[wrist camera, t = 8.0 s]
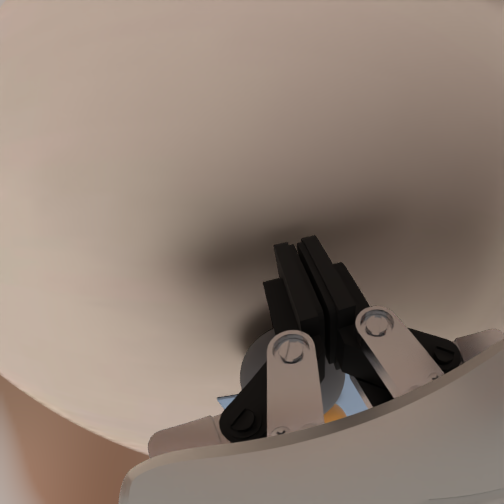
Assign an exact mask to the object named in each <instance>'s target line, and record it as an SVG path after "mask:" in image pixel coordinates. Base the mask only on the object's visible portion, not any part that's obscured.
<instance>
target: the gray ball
mask: <svg viewBox="0 0 504 504" xmlns="http://www.w3.org/2000/svg"><path fill="white" fill-rule="evenodd" d="M274 337H275V332H274V329H272V330H270V331H268V332H266V333H265V334H263V335H262V336H260V337H259V338H258V339H257V340H256V341H255V342H254V343H253V344H252V345H251V346H250V348H249V349H248V351H247V353H246V354H245V357H244V359H243V362H242V365H241V371H240V383H241V388H242V389H243V388H244V387H245V386H246V385H247V384H248V382H249V381H250V380H251V379H252V378H253V377H254V375H255V374H256V373H257V372H258V371H259V369H260V368H261V367H262V366H263V365H264V363H265V362H266V361H267V348H268V344H269V343H270V341H271V340H272V339H273V338H274ZM344 382H345V373H344V372H342V371H341V369H339V370H336V369H335V366H334V363H332V364H329V363H328V361H327V358H326V356H325V378H324V379H323V381H322V382H321V384H320V388H321V396H322V405H323V414H325V413H326V412H328V411H329V410H330V409H331V408H332V407H333V405H334V404H335V403H336V402H337V400H338V398H339V396H340V394H341V392H342V389H343V386H344Z"/></svg>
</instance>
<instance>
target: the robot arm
mask: <svg viewBox="0 0 504 504" xmlns="http://www.w3.org/2000/svg"><path fill="white" fill-rule="evenodd" d="M297 249H298V253H297V251H296V249H295V246H294V245H293V244H292V245H288V242H285V243H281V244H277V245H274V251H275V256H276V261H277V267H278V272H279V277H280V278H278V279H274V280H269V281H265V282H263V285H264V289H265V294H266V298H267V302H268V306H269V310H270V315H271V319H272V323H273V327H274V332H275V337H274V338H273V339H272V340H271V341H270V343H269V344H268V348H267V361H266V362H265V363H264V365H263V366H262V367H261V368H260V369H259V371H258V372H257V373H256V374H255V375H254V377H253V378H252V379H251V380H250V381H249V382H248V384H247V385H246V386H245V387H244V388H243V389H242V391H241V392H240V393H239V394H238V395H237V396H236V397H235V399H234V400H233V401H232V402H231V403H230V404H229V405H228V406H227V407H226V409H225V410H224V411H223V413H222V414H220V415H217V416H214V417H211V416H207V417H204V418H201V419H198V420H195V421H191V422H188V423H185V424H182V425H178V426H175V427H171V428H168V429H164V430H161V431H158V432H156V433H155V434H154V435H153V436H152V437H151V438H150V440H149V443H148V452H149V456H150V459H148V460H146V461H144V462H142V463H140V464H138V465H137V466H135V467H133V468H132V469H131V470H130V471H129V472H128V473H127V475H126V477H125V478H124V480H123V483H122V486H121V491H120V496H119V504H504V333H503V332H501V331H500V330H498V329H489V330H485V331H482V332H478V333H475V334H471V335H467V336H464V337H460V338H456V339H455V341H454V342H451V341H449V340H447V339H444V338H440V337H437V336H434V335H430V334H427V333H423V332H420V331H417V330H413V329H410V328H407V327H406V326H405V325H404V324H403V322H402V321H401V320H400V319H399V318H398V317H397V315H396V314H395V313H394V312H392V311H391V310H390V309H388V308H385V307H381V306H371V307H370V306H369V304H368V303H367V301H366V299H365V298H364V296H363V294H362V293H361V291H360V289H359V288H358V286H357V284H356V283H355V281H354V280H353V278H352V276H351V275H350V273H349V272H348V270H347V268H346V267H345V265H344V264H343V263H342V262H340V263H336V264H332V262H331V260H330V259H329V257H328V255H327V254H326V252H325V250H324V249H323V247H322V245H321V244H320V242H319V240H318V239H317V237H316V236H315V235H314V236H310V237H306V238H302V239H301V242H300V243H297ZM325 356H326V358H327V361H328V363H329V364H332V363H334V366H335V369H336V370H339V369H341V371H342V372H344V373H346V374H349V376H350V379H351V381H352V383H353V384H354V386H355V388H356V389H357V391H358V393H359V394H360V396H361V398H362V400H363V401H364V403H365V405H366V406H367V408H368V409H367V410H365V411H362V412H359V413H356V414H353V415H350V416H347V417H344V418H341V419H338V420H335V421H331V422H328V423H324V414H323V405H322V396H321V388H320V384H321V382H322V381H323V379H324V378H325Z"/></svg>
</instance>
